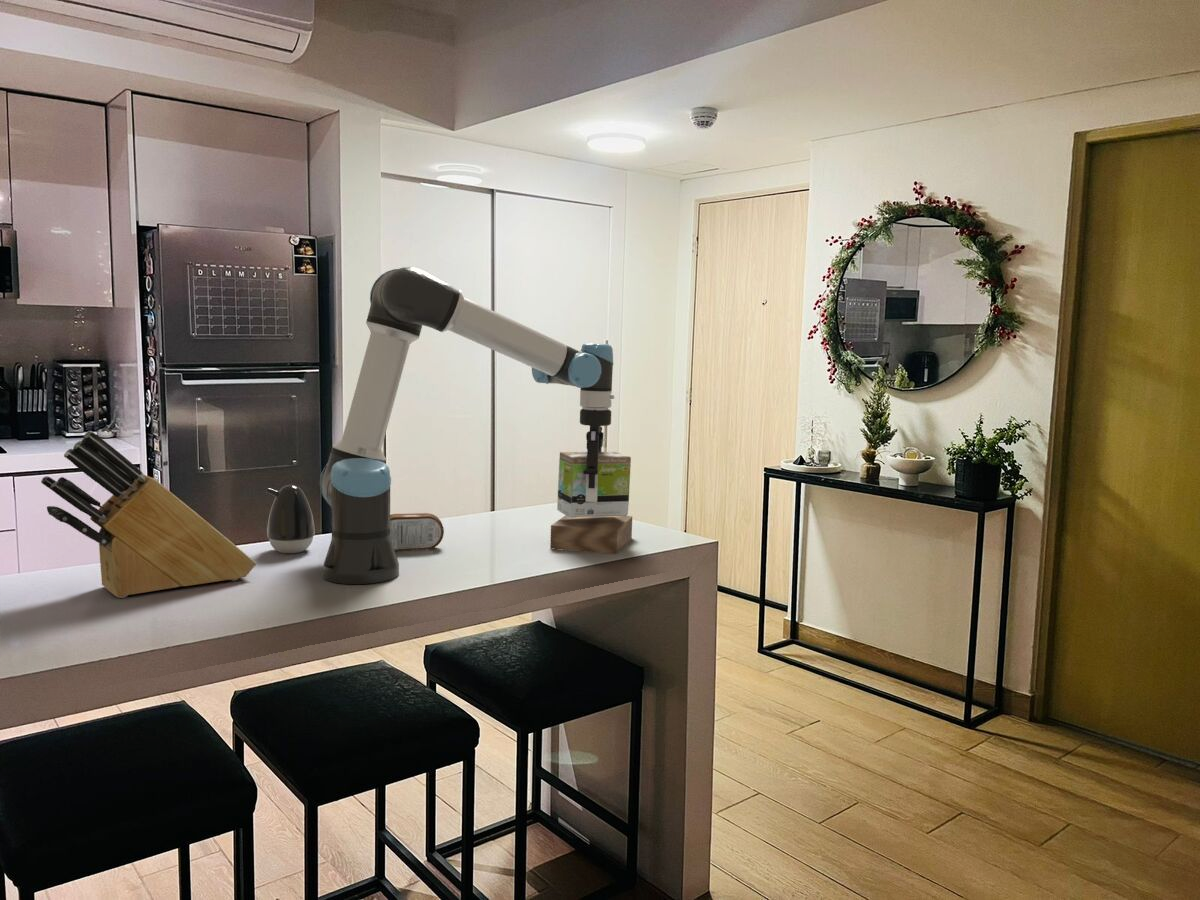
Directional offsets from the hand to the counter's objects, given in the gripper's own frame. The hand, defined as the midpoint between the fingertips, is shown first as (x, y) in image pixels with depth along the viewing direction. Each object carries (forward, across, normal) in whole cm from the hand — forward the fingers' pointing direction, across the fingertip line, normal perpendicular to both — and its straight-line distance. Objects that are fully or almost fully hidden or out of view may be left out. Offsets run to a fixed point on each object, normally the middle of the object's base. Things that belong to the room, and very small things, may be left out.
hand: (593, 496), depth 225 cm
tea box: (+4, 0, 0) cm, 4 cm away
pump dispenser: (+12, -20, +67) cm, 71 cm away
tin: (+12, -14, +41) cm, 45 cm away
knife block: (+12, -52, +81) cm, 97 cm away
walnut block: (+12, 0, 0) cm, 12 cm away
